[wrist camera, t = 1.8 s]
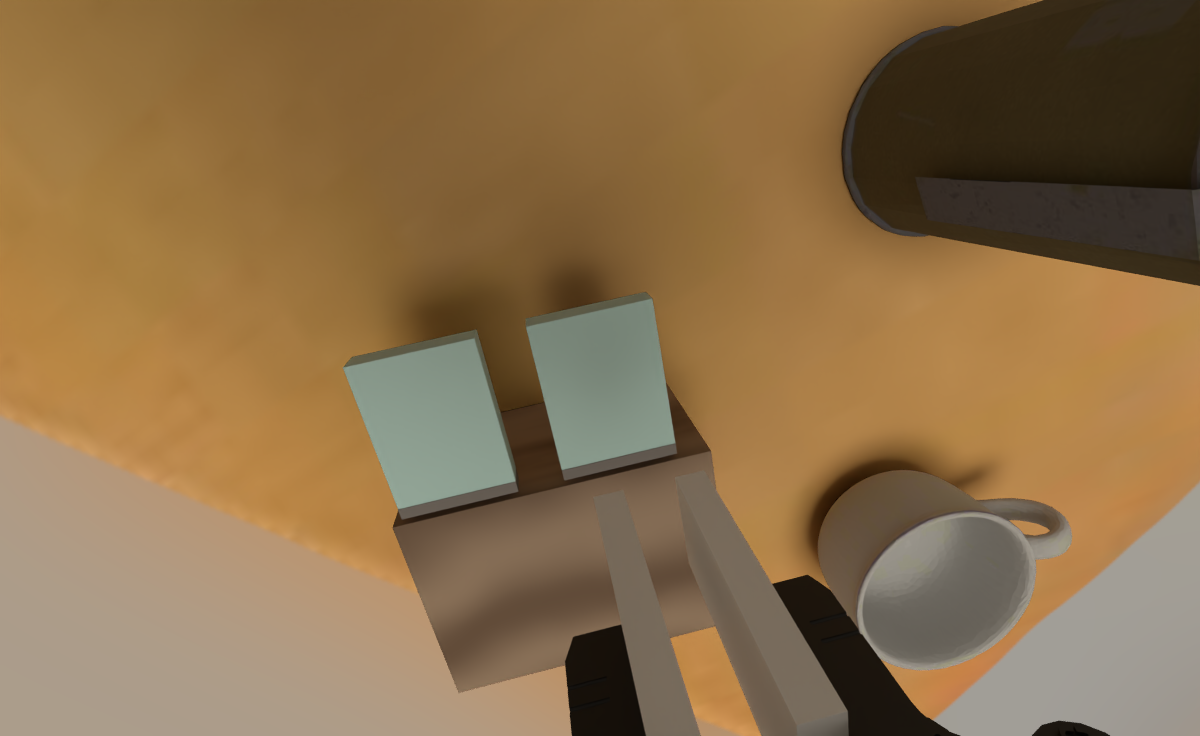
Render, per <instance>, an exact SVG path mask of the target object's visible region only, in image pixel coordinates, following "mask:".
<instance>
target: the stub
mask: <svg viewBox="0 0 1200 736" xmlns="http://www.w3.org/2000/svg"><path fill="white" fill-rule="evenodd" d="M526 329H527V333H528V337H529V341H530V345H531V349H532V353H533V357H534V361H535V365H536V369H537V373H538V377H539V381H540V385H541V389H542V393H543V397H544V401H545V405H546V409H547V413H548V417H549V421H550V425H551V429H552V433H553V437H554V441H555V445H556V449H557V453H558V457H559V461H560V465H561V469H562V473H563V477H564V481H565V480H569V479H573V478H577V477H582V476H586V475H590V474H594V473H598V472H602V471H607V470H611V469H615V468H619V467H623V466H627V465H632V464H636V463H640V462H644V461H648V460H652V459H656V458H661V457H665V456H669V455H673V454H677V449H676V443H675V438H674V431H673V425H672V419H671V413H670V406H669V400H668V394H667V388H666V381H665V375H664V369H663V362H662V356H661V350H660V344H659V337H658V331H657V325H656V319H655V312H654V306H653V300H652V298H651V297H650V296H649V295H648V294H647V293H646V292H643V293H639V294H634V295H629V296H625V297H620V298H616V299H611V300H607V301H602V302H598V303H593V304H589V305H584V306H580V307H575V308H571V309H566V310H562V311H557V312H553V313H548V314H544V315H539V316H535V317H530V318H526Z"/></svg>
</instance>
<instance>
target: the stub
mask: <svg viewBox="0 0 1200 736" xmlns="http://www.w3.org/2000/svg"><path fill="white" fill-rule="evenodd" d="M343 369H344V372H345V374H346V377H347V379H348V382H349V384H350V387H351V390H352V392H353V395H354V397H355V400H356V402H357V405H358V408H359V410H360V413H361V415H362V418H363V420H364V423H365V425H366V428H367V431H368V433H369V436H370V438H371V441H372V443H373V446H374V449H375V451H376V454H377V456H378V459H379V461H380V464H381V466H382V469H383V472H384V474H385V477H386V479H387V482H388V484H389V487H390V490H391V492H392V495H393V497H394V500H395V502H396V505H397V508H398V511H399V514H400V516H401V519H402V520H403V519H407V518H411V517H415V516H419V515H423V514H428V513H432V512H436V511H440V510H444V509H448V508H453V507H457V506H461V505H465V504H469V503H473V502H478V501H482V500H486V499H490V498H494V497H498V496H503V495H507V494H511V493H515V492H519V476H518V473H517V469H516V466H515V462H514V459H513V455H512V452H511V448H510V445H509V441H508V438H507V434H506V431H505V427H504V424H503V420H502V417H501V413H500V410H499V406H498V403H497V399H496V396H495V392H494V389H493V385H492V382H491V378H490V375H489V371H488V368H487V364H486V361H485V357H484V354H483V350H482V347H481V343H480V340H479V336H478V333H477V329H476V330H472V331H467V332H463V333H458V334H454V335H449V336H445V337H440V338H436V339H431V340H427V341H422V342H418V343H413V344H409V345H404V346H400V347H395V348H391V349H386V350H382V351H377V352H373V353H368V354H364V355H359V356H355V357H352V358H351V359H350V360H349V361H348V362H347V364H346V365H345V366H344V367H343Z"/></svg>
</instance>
